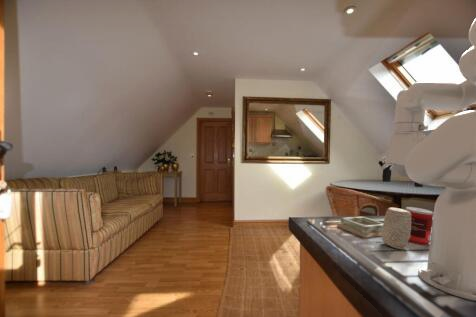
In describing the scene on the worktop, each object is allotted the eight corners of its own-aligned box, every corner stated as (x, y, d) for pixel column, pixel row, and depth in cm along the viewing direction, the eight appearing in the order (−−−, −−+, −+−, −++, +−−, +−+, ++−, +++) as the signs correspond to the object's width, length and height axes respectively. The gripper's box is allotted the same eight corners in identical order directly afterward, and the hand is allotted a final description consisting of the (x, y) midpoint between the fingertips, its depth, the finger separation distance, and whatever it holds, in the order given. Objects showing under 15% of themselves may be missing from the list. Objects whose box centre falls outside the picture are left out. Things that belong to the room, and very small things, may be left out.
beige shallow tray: (365, 237, 81) (366, 227, 81) (337, 226, 92) (338, 217, 92) (390, 234, 88) (391, 225, 87) (361, 224, 98) (362, 215, 98)
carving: (412, 252, 71) (416, 213, 71) (383, 247, 74) (388, 209, 73) (404, 245, 77) (408, 209, 77) (378, 240, 80) (382, 205, 79)
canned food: (419, 237, 87) (423, 208, 86) (435, 246, 79) (439, 213, 78) (397, 235, 87) (400, 205, 87) (410, 243, 80) (414, 211, 79)
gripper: (447, 130, 68) (440, 189, 69) (387, 131, 84) (382, 180, 84) (433, 127, 65) (426, 189, 65) (373, 129, 80) (368, 179, 81)
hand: (401, 184), depth 75 cm, fingers open, 9 cm apart
